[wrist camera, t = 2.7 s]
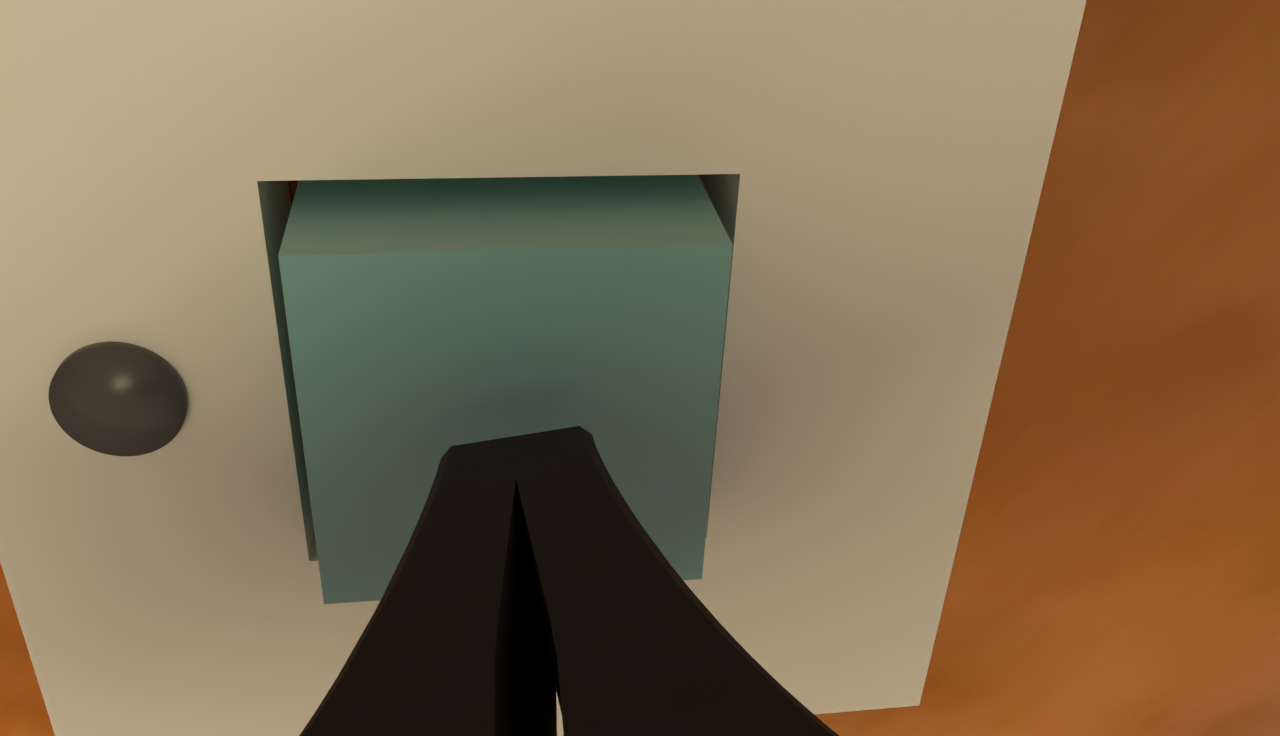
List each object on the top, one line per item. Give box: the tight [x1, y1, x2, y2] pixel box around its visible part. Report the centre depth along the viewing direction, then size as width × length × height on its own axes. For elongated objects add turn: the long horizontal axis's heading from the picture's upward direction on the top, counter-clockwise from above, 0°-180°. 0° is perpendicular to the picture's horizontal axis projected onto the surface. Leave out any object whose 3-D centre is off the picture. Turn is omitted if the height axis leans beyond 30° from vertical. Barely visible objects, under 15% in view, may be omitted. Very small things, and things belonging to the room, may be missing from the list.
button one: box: [278, 175, 733, 604], centre depth 14 cm, size 4×4×3 cm
